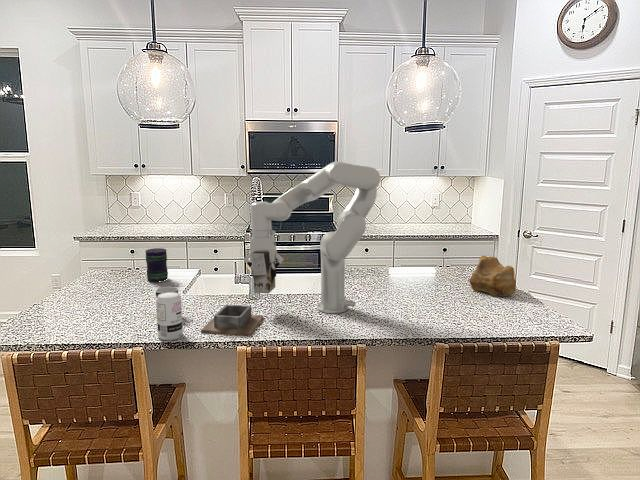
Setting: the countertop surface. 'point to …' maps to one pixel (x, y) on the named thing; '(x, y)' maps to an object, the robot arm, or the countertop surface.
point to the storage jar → (156, 264)
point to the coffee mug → (166, 290)
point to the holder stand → (233, 321)
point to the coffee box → (262, 273)
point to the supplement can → (169, 316)
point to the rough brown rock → (493, 277)
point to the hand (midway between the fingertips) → (264, 278)
